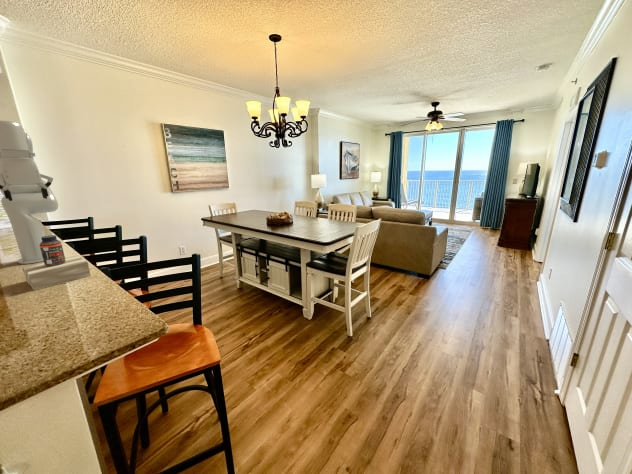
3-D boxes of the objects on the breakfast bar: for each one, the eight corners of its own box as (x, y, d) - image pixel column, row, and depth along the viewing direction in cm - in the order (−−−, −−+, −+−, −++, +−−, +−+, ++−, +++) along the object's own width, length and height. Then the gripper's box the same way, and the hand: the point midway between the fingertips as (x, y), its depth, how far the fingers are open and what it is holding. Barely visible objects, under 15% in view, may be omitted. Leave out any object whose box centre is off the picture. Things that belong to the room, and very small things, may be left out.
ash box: (26, 281, 100) (22, 266, 98) (80, 268, 112) (76, 255, 111) (34, 290, 92) (29, 274, 90) (90, 275, 105) (87, 261, 103)
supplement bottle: (52, 267, 97) (44, 238, 95) (40, 266, 99) (32, 237, 96) (70, 261, 103) (63, 234, 100) (58, 261, 104) (51, 234, 101)
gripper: (45, 156, 109) (55, 197, 114) (-21, 154, 96) (-6, 201, 100) (49, 156, 105) (60, 198, 109) (-19, 154, 91) (-4, 202, 96)
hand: (28, 199), depth 105 cm, fingers open, 9 cm apart
